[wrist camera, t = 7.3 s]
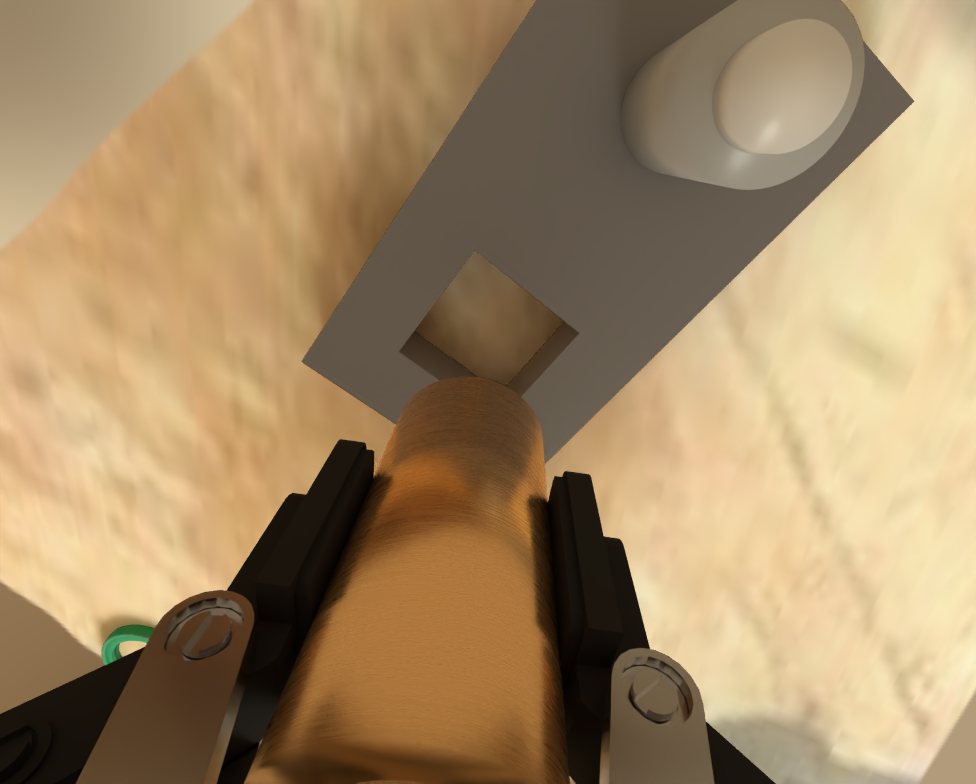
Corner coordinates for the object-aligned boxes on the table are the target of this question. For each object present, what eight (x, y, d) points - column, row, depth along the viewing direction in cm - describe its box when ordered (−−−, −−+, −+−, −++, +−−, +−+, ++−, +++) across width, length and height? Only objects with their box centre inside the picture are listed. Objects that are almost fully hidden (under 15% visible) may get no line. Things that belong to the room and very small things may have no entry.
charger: (509, 465, 28) (505, 638, 18) (324, 338, 25) (200, 462, 15) (860, 107, 20) (1202, 70, 10) (640, -141, 17) (809, -539, 7)
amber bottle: (482, 522, 15) (429, 1096, 6) (369, 450, 14) (105, 1005, 5) (573, 434, 13) (683, 1031, 4) (451, 346, 12) (282, 885, 3)
